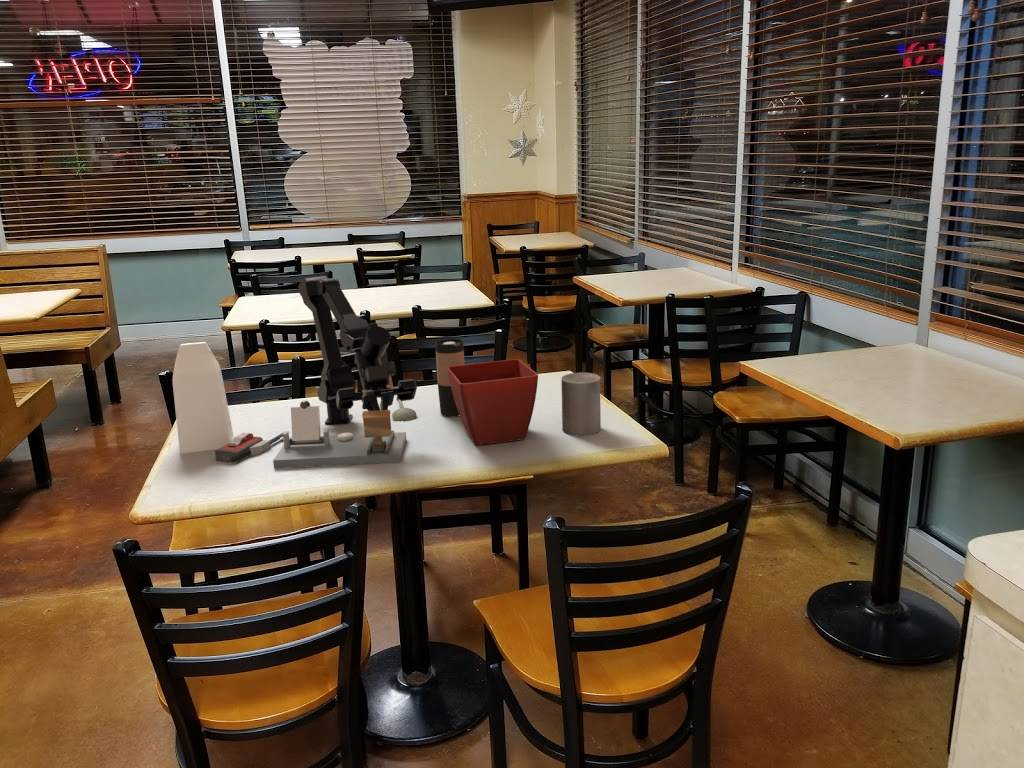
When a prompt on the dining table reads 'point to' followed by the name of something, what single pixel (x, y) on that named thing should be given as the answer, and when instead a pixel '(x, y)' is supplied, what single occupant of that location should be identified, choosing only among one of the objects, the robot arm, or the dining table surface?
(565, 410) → the pillar candle
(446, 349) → the travel mug
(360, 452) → the control panel
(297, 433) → the light grey piece
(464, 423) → the plant pot
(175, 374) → the milk
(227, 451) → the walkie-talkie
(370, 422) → the walnut slider lever
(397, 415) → the soupspoon
